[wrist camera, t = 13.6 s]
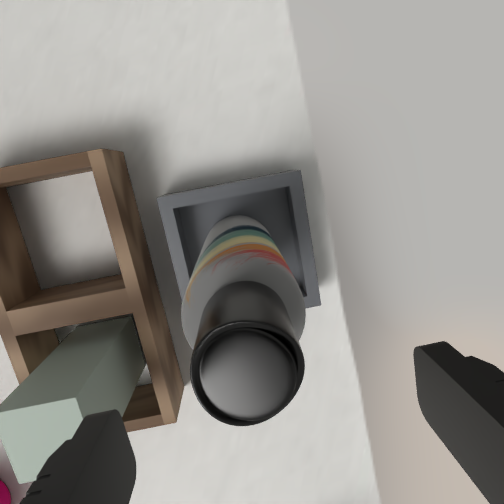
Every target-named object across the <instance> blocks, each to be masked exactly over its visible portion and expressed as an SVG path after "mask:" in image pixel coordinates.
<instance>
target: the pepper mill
mask: <svg viewBox="0 0 504 504" xmlns="http://www.w3.org/2000/svg"><path fill="white" fill-rule="evenodd" d="M10 503H11V497H10V492H9V490H8V488H7V487H6V485H5V484H4V483H3V482H2V481H1V480H0V504H10Z"/></svg>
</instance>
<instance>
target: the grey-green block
mask: <svg viewBox="0 0 504 504" xmlns="http://www.w3.org/2000/svg"><path fill="white" fill-rule="evenodd" d="M144 367H145V362H144V358H143V355H142V351H141V348H140V344H139V341H138V337H137V334H136V330H135V326H134V323H133V319H132V316H129V317H124V318H119V319H114V320H109V321H104V322H99V323H93V324H88V325H83V326H78V327H76V328H75V329H74V330H73V331H72V332H71V333H70V334H69V335H68V336H67V337H66V338H65V339H64V340H63V341H62V342H61V343H60V344H59V345H58V346H57V347H56V349H55V350H54V351H53V352H52V353H51V354H50V355H49V356H48V357H47V358H46V359H45V360H44V361H43V362H42V363H41V364H40V365H39V366H38V367H37V368H36V369H35V370H34V371H33V372H32V373H31V374H30V375H29V376H28V377H27V378H26V379H25V380H24V381H23V382H22V383H21V384H20V385H19V386H18V387H17V388H16V389H15V390H14V391H13V392H12V393H11V394H10V395H9V396H8V397H7V398H6V399H5V400H4V401H3V402H2V403H1V404H0V439H1V441H2V444H3V446H4V448H5V451H6V453H7V456H8V458H9V461H10V463H11V466H12V468H13V471H14V473H15V475H16V478H17V480H18V483H19V484H22V483H27V482H32V481H36V477H37V475H38V473H39V472H40V470H41V469H42V467H43V465H44V464H45V462H46V461H47V459H48V458H49V457H50V456H51V455H52V454H53V453H54V452H55V451H56V450H57V449H58V448H59V447H60V446H61V445H62V444H63V443H64V442H65V441H66V440H69V439H72V437H73V436H74V434H75V432H76V430H77V429H78V427H79V425H80V424H81V422H82V420H83V419H84V417H85V416H87V415H90V414H94V413H99V412H104V411H109V410H114V409H116V410H118V411H119V412H120V414H121V417H123V414H124V412H125V410H126V408H127V405H128V403H129V401H130V399H131V396H132V394H133V392H134V390H135V387H136V385H137V383H138V381H139V378H140V376H141V374H142V372H143V369H144Z"/></svg>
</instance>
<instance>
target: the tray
mask: <svg viewBox="0 0 504 504" xmlns="http://www.w3.org/2000/svg"><path fill="white" fill-rule="evenodd" d="M157 202H158V206H159V210H160V215H161V219H162V223H163V227H164V231H165V235H166V239H167V243H168V247H169V251H170V255H171V259H172V263H173V267H174V271H175V275H176V279H177V283H178V287H179V291H180V296H181V300H182V303H183V298H184V295H185V292H186V289H187V286H188V283H189V281H190V278H191V276H192V273H193V271H194V268H195V265H196V263H197V260H198V258H199V255H200V253H201V250H202V247H203V245H204V242H205V240H206V238H207V235H208V234H209V232H210V230H211V229H212V228H213V226H214V225H215V224H217V223H218V222H219V221H221V220H222V219H224V218H227V217H230V216H234V215H243V216H248V217H251V218H253V219H255V220H257V221H258V222H260V223H261V224H262V225H263V226H264V227H265V228H266V229H267V231H268V232H269V234H270V235H271V237H272V239H273V241H274V242H275V244H276V246H277V248H278V249H279V251H280V253H281V255H282V256H283V258H284V260H285V262H286V264H287V265H288V267H289V269H290V271H291V272H292V274H293V276H294V278H295V280H296V282H297V283H298V286H299V288H300V290H301V292H302V295H303V298H304V303H305V308H310V307H315V306H320V305H321V301H320V294H319V287H318V281H317V274H316V268H315V261H314V255H313V248H312V241H311V235H310V228H309V222H308V215H307V209H306V202H305V196H304V189H303V182H302V176H301V170H291V171H285V172H280V173H275V174H270V175H265V176H259V177H254V178H249V179H244V180H239V181H234V182H228V183H223V184H218V185H213V186H208V187H203V188H197V189H192V190H187V191H182V192H177V193H171V194H166V195H163V196H160V197H158V198H157Z"/></svg>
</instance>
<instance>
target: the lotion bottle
mask: <svg viewBox="0 0 504 504" xmlns="http://www.w3.org/2000/svg"><path fill="white" fill-rule="evenodd" d="M181 320H182V327H183V331H184V335H185V337H186V339H187V342H188V343H189V345H190V347H191V348H192V349H193V354H192V358H191V365H190V376H191V383H192V387H193V390H194V393H195V395H196V397H197V399H198V401H199V402H200V404H201V405H202V407H203V408H204V409H205V410H206V411H207V412H208V413H209V414H210V415H211V416H212V417H214V418H215V419H217V420H219V421H221V422H223V423H226V424H229V425H234V426H249V425H255V424H258V423H261V422H264V421H266V420H268V419H270V418H272V417H273V416H275V415H276V414H278V413H279V412H280V411H281V410H283V409H284V408H285V407H286V406H287V405H288V404H289V403H290V401H291V400H292V399H293V398H294V396H295V395H296V393H297V391H298V389H299V387H300V385H301V383H302V380H303V376H304V370H305V363H304V356H303V353H302V350H301V347H300V344H299V339H300V337H301V335H302V332H303V329H304V325H305V303H304V298H303V295H302V292H301V290H300V288H299V286H298V283H297V282H296V280H295V278H294V276H293V274H292V272H291V271H290V269H289V267H288V265H287V264H286V262H285V260H284V258H283V256H282V255H281V253H280V251H279V249H278V248H277V246H276V244H275V242H274V241H273V239H272V237H271V235H270V234H269V232H268V231H267V229H266V228H265V227H264V226H263V225H262V224H261V223H260V222H258V221H257V220H255V219H253V218H251V217H248V216H243V215H234V216H230V217H227V218H224V219H222V220H221V221H219V222H218V223H217V224H215V225H214V226H213V228H212V229H211V230H210V232H209V234H208V235H207V238H206V240H205V242H204V245H203V247H202V250H201V253H200V255H199V258H198V260H197V263H196V265H195V268H194V271H193V273H192V276H191V278H190V281H189V283H188V286H187V289H186V292H185V295H184V298H183V303H182V309H181Z"/></svg>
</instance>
